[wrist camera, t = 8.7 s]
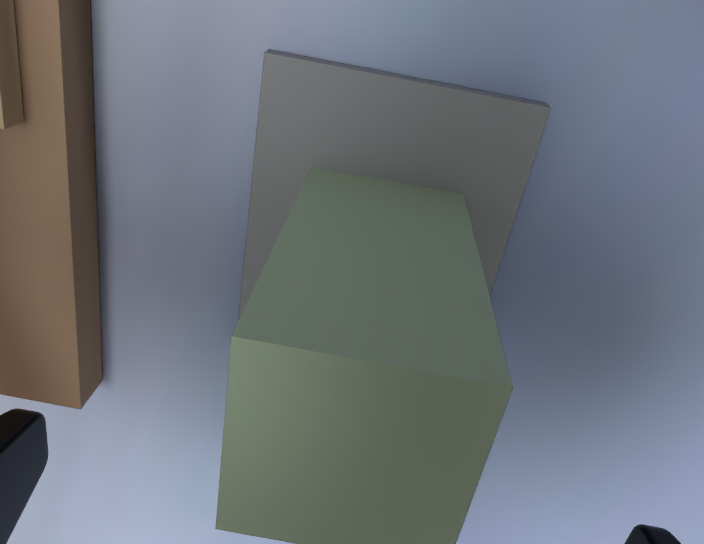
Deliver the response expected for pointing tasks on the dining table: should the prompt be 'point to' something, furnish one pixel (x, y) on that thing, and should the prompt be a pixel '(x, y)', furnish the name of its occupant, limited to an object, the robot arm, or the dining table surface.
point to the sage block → (363, 371)
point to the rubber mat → (387, 146)
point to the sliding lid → (9, 69)
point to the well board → (50, 213)
